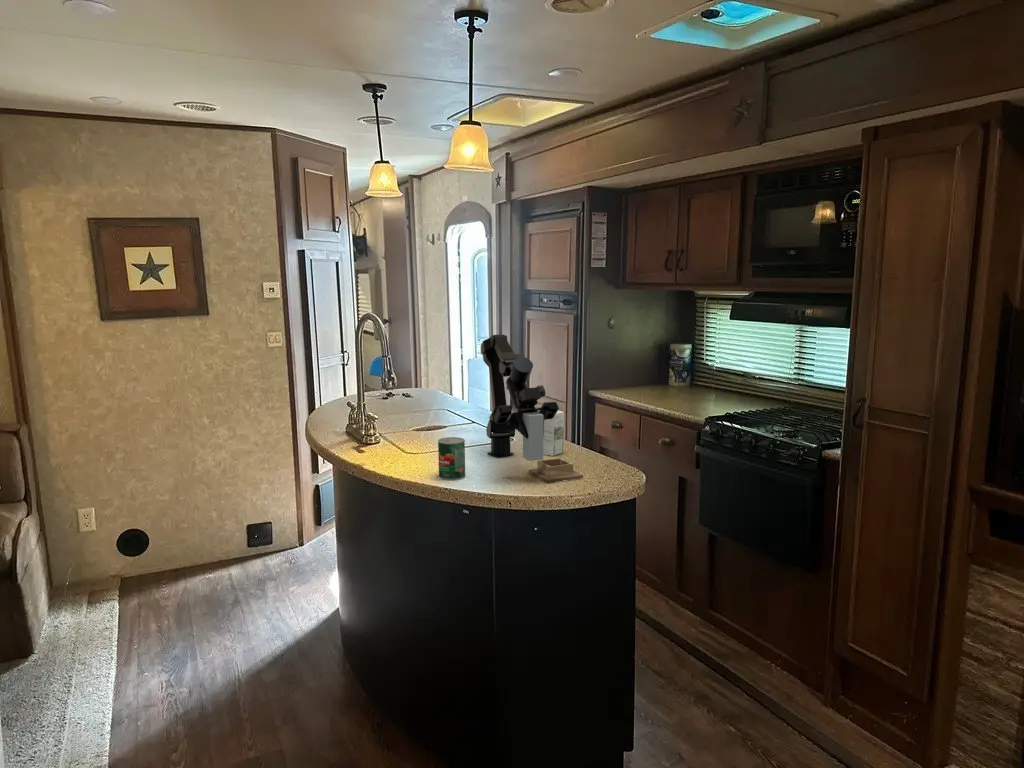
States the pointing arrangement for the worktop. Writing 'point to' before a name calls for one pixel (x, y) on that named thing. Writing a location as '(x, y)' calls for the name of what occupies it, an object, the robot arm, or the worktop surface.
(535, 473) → the pocket board
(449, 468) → the canned tomato
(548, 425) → the syrup box
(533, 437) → the slate peg
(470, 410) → the worktop surface
